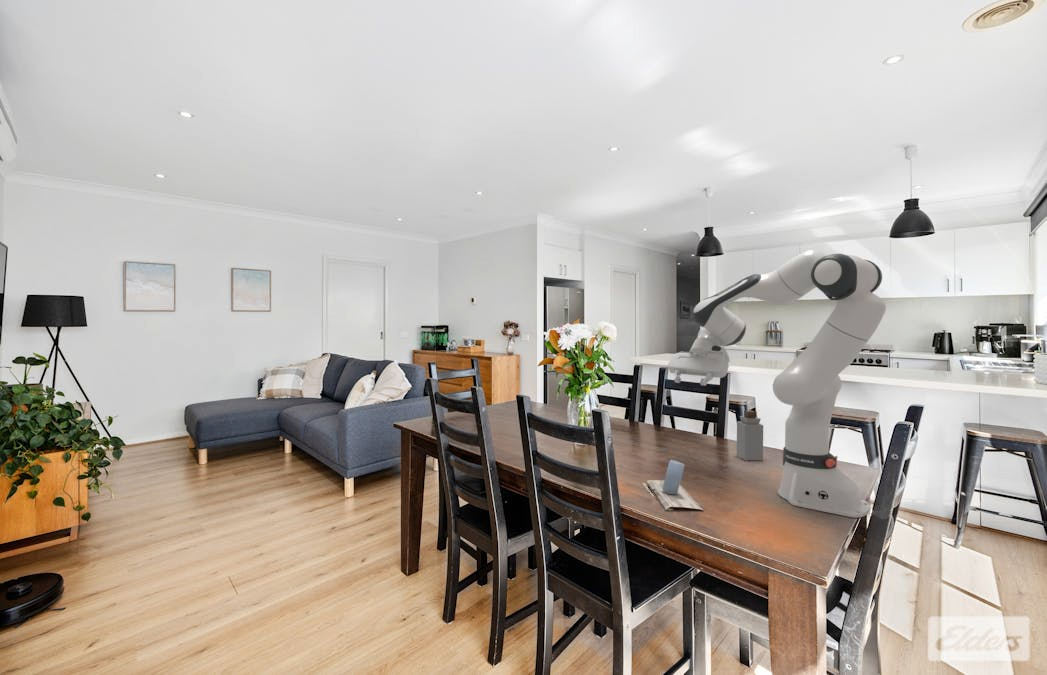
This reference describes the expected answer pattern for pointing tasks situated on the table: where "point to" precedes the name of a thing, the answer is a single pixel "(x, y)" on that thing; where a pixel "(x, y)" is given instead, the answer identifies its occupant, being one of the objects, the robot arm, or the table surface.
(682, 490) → the newspaper
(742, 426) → the perfume bottle
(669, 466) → the blue peg
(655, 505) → the table surface
